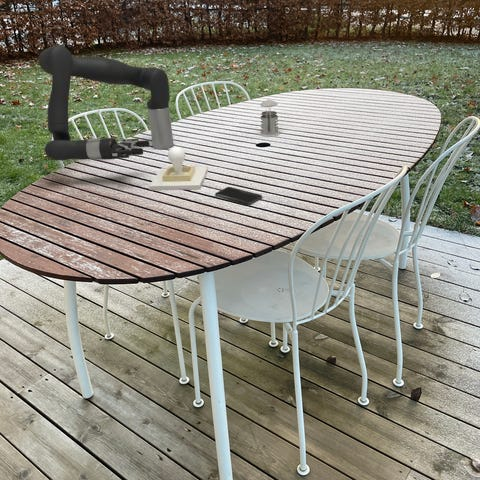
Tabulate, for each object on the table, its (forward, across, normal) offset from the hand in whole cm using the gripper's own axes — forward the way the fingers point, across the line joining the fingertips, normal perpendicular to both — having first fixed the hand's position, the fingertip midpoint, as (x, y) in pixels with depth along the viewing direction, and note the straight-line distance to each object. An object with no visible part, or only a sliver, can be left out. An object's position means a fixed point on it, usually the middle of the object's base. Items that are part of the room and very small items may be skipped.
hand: (146, 147), depth 168 cm
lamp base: (+11, 0, +13) cm, 17 cm away
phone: (+34, -16, +13) cm, 40 cm away
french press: (+42, +56, +14) cm, 71 cm away
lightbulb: (+11, 0, +11) cm, 16 cm away
